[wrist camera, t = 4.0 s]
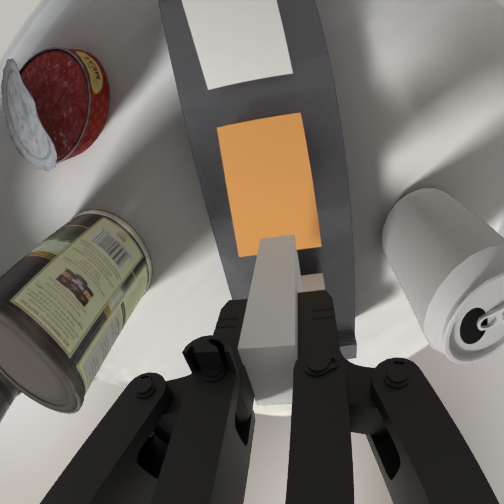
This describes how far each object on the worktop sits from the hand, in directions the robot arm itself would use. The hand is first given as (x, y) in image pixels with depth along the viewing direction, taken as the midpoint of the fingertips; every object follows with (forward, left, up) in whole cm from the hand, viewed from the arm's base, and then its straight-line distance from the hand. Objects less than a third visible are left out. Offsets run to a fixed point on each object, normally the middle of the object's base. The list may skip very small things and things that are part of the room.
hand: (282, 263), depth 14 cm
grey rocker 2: (0, +12, -4) cm, 13 cm away
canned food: (-16, +12, -10) cm, 23 cm away
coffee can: (-17, -3, -10) cm, 20 cm away
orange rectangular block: (0, +2, -4) cm, 5 cm away
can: (+11, -4, -10) cm, 15 cm away
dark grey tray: (0, +2, -10) cm, 10 cm away
